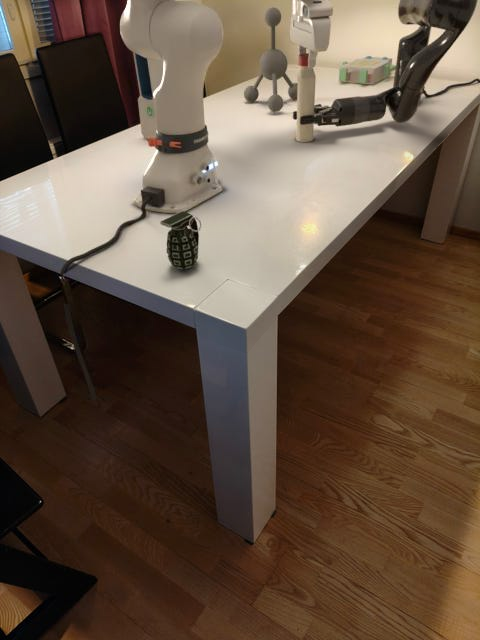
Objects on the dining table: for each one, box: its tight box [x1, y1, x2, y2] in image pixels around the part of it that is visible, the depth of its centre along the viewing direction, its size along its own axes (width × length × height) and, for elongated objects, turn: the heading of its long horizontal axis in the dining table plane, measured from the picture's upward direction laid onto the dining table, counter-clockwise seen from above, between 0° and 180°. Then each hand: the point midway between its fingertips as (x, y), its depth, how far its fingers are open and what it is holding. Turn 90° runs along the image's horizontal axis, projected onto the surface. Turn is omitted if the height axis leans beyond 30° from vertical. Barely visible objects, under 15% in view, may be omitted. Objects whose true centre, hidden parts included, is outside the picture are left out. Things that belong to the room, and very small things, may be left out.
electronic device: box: [132, 51, 164, 140], centre depth 143 cm, size 12×8×30 cm, turn 47°
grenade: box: [159, 211, 202, 271], centre depth 88 cm, size 7×6×10 cm
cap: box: [298, 52, 317, 67], centre depth 133 cm, size 5×5×2 cm
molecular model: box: [243, 6, 298, 113], centre depth 169 cm, size 24×22×30 cm
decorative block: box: [338, 55, 396, 85], centre depth 201 cm, size 26×6×20 cm
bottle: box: [295, 66, 317, 143], centre depth 139 cm, size 5×5×22 cm
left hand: (307, 65), depth 133 cm, fingers closed on cap, 4 cm apart
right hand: (297, 118), depth 141 cm, fingers closed on bottle, 5 cm apart
